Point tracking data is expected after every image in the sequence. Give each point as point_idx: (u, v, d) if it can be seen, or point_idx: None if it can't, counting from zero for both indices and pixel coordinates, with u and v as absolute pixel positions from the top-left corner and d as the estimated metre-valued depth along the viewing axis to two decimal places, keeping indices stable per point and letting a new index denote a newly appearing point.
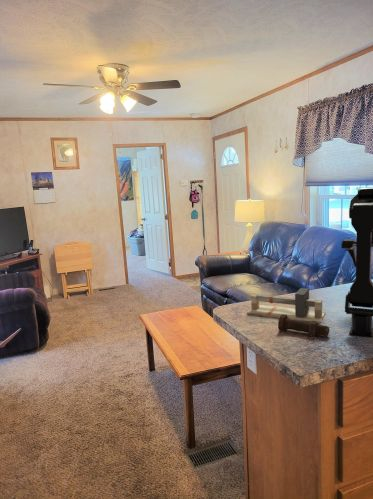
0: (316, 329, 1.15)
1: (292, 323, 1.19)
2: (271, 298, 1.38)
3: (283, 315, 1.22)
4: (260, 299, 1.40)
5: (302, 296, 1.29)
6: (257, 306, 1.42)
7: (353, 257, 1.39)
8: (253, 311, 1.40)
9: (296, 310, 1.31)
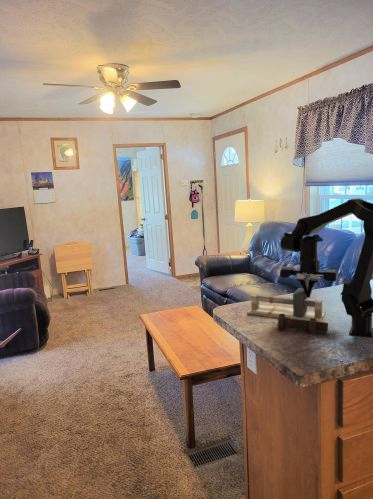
0: (316, 326, 1.18)
1: (292, 322, 1.20)
2: (271, 298, 1.38)
3: (281, 314, 1.23)
4: (260, 299, 1.40)
5: (300, 296, 1.30)
6: (257, 306, 1.42)
7: (304, 288, 1.30)
8: (253, 311, 1.40)
9: (294, 310, 1.31)
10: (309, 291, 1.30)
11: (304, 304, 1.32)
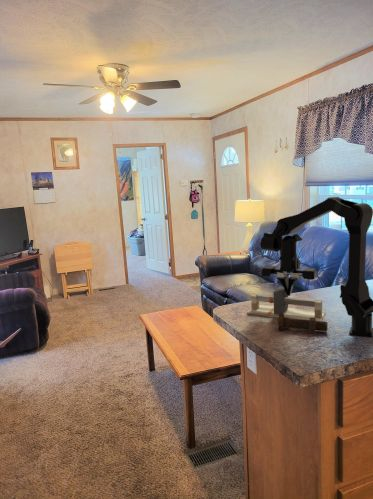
0: (316, 326, 1.18)
1: (292, 322, 1.21)
2: (271, 298, 1.38)
3: (281, 314, 1.23)
4: (260, 299, 1.40)
5: (280, 294, 1.33)
6: (257, 306, 1.42)
7: (284, 286, 1.34)
8: (253, 311, 1.40)
9: (274, 308, 1.35)
10: (289, 289, 1.34)
11: (304, 304, 1.32)
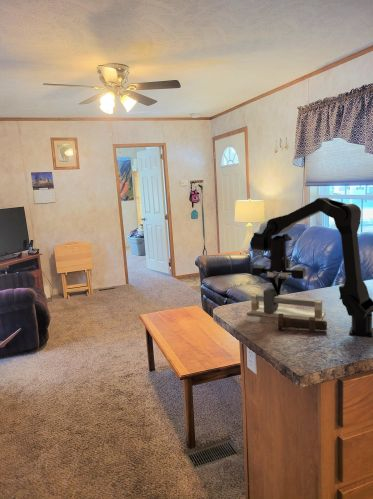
0: (315, 325, 1.19)
1: (292, 322, 1.21)
2: None
3: (280, 314, 1.23)
4: (260, 299, 1.40)
5: (270, 293, 1.35)
6: (257, 306, 1.42)
7: (274, 285, 1.36)
8: (253, 311, 1.40)
9: (264, 307, 1.37)
10: (279, 288, 1.36)
11: (304, 304, 1.32)
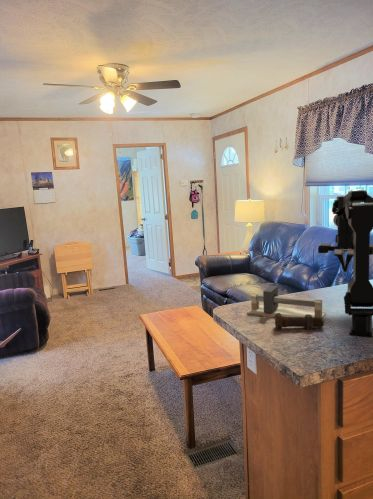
0: (313, 322, 1.21)
1: (290, 320, 1.22)
2: None
3: (278, 314, 1.23)
4: (260, 299, 1.40)
5: (270, 293, 1.35)
6: (257, 306, 1.42)
7: (342, 262, 1.39)
8: (253, 311, 1.40)
9: (264, 307, 1.37)
10: (346, 265, 1.39)
11: (304, 304, 1.32)
